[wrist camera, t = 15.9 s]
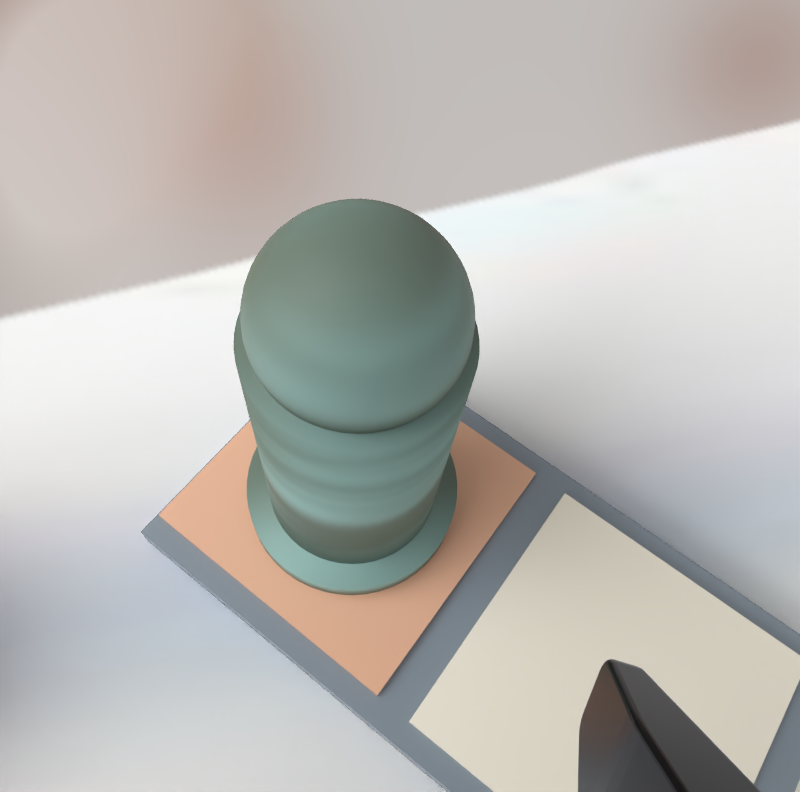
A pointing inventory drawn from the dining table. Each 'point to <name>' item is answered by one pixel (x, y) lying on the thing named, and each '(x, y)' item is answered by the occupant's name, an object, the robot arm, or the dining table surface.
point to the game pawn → (355, 392)
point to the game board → (506, 623)
